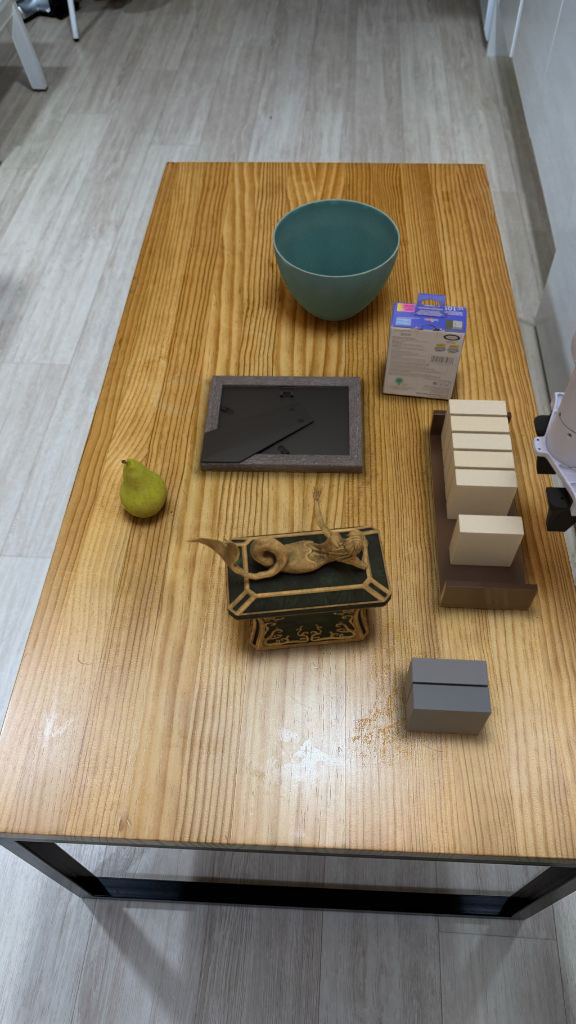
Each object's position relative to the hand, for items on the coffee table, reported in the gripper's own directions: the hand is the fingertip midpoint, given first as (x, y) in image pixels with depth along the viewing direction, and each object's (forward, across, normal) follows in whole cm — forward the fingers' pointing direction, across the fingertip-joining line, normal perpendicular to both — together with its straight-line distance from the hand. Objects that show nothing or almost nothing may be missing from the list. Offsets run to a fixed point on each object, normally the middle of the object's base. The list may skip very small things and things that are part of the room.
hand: (550, 499), depth 81 cm
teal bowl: (+11, -44, -24) cm, 52 cm away
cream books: (+10, -10, -6) cm, 15 cm away
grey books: (+10, +20, -11) cm, 26 cm away
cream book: (+10, +2, -6) cm, 12 cm away
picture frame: (+11, -19, -31) cm, 37 cm away
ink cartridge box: (+11, -28, -12) cm, 32 cm away
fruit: (+11, -4, -47) cm, 48 cm away
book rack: (+10, -5, -6) cm, 13 cm away
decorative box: (+11, +10, -28) cm, 32 cm away
